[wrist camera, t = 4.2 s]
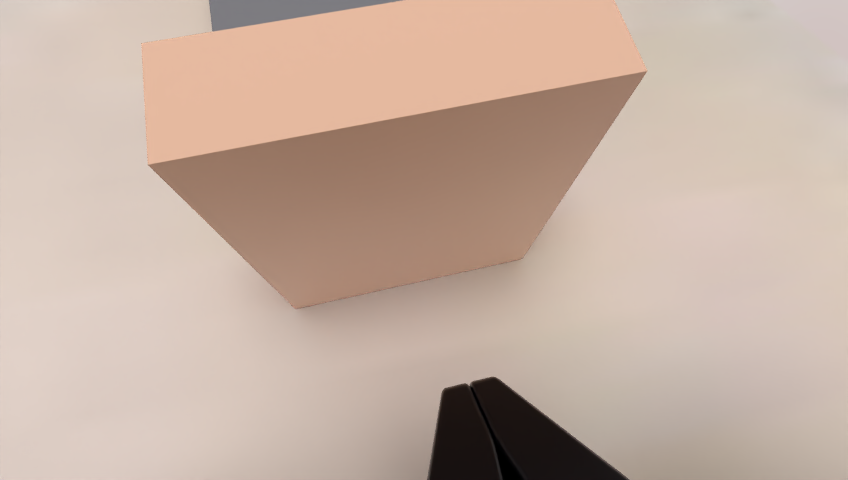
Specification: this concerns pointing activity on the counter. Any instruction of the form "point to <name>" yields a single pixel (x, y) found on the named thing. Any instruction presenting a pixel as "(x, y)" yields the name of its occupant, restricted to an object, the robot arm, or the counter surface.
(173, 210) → the counter surface
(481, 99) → the tile
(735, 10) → the counter surface
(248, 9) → the mat
